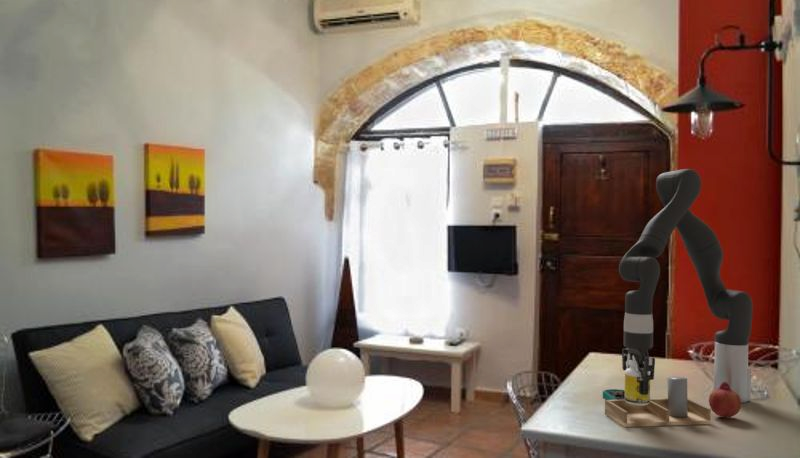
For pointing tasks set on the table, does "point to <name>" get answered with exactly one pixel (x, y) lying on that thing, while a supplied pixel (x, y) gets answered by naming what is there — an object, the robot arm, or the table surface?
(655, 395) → the table surface
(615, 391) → the digital multimeter
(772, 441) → the table surface
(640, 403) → the pill bottle
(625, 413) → the divided wooden tray
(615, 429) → the table surface
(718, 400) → the fruit
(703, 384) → the table surface
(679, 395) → the grey cylinder
